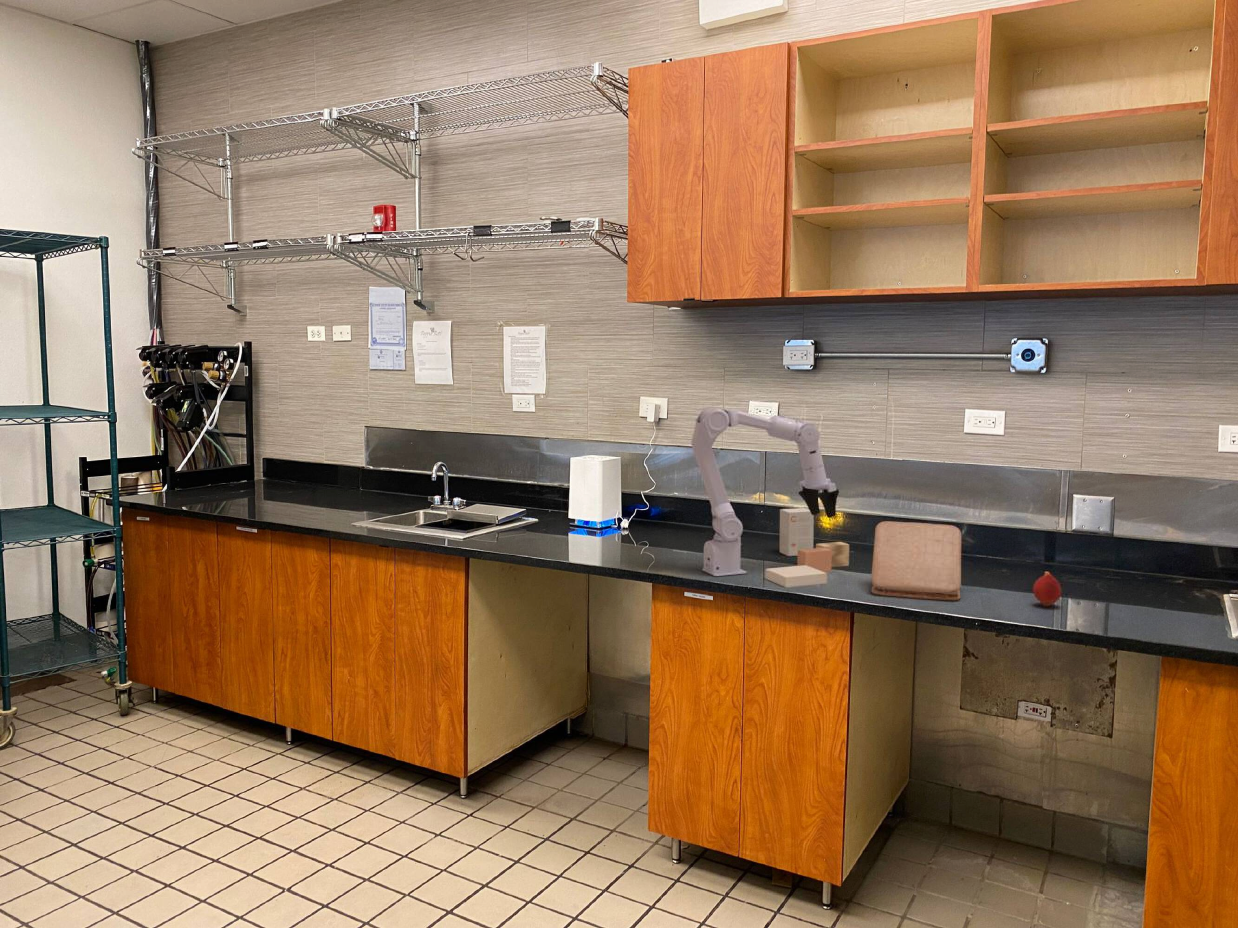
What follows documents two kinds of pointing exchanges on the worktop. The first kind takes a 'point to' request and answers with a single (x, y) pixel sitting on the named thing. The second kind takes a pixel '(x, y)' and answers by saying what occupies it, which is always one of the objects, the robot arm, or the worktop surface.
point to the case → (917, 561)
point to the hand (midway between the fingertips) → (823, 515)
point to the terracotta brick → (815, 558)
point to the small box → (796, 530)
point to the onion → (1047, 589)
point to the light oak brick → (837, 553)
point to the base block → (796, 576)
